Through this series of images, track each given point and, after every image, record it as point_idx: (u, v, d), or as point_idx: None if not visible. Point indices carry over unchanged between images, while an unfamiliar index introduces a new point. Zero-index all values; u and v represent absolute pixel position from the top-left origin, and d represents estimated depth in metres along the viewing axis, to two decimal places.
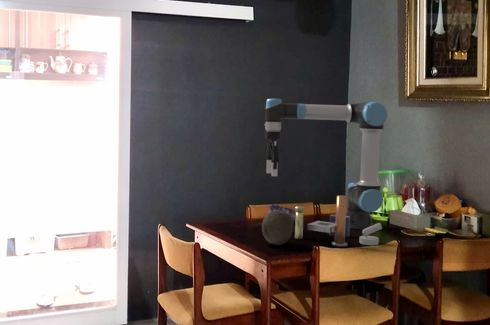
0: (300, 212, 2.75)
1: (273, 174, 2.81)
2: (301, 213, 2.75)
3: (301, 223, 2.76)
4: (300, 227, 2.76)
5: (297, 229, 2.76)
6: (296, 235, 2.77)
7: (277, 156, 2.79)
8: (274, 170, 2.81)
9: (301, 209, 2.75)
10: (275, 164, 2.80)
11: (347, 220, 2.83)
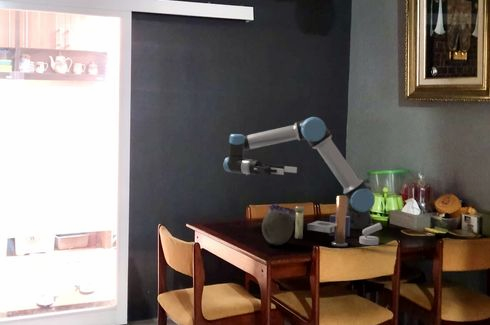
0: (300, 212, 2.75)
1: (281, 172, 2.79)
2: (301, 213, 2.75)
3: (301, 223, 2.76)
4: (300, 227, 2.76)
5: (297, 229, 2.76)
6: (296, 235, 2.77)
7: (263, 168, 2.81)
8: (277, 171, 2.80)
9: (301, 209, 2.75)
10: None
11: (347, 220, 2.83)
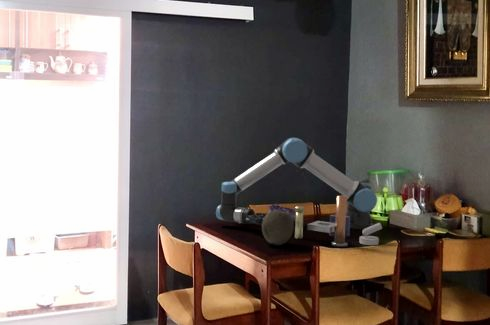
0: (300, 212, 2.75)
1: None
2: (301, 213, 2.75)
3: (301, 223, 2.76)
4: (300, 227, 2.76)
5: (297, 229, 2.76)
6: (296, 235, 2.77)
7: (255, 219, 2.79)
8: None
9: (301, 209, 2.75)
10: None
11: (347, 220, 2.83)
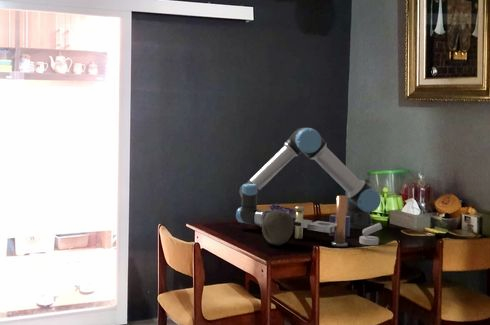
0: (300, 212, 2.75)
1: (305, 226, 2.73)
2: (301, 213, 2.75)
3: None
4: (300, 227, 2.76)
5: (297, 229, 2.76)
6: (296, 235, 2.77)
7: None
8: (302, 224, 2.74)
9: (301, 209, 2.75)
10: None
11: (347, 220, 2.83)
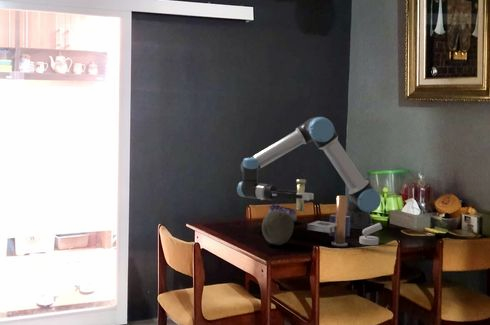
0: (301, 185, 2.74)
1: (307, 198, 2.72)
2: (302, 186, 2.74)
3: None
4: (301, 200, 2.75)
5: (298, 202, 2.75)
6: (297, 208, 2.75)
7: (287, 194, 2.73)
8: (303, 197, 2.73)
9: (302, 181, 2.73)
10: (296, 196, 2.73)
11: (347, 220, 2.83)
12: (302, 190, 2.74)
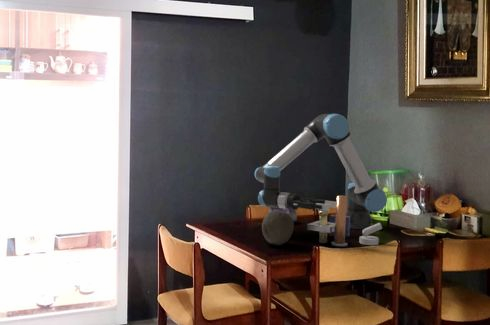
0: (324, 216, 2.66)
1: (327, 208, 2.62)
2: (325, 217, 2.66)
3: None
4: None
5: (321, 233, 2.68)
6: (320, 240, 2.68)
7: (306, 204, 2.64)
8: (323, 207, 2.63)
9: (325, 213, 2.66)
10: None
11: (347, 220, 2.83)
12: (325, 222, 2.67)
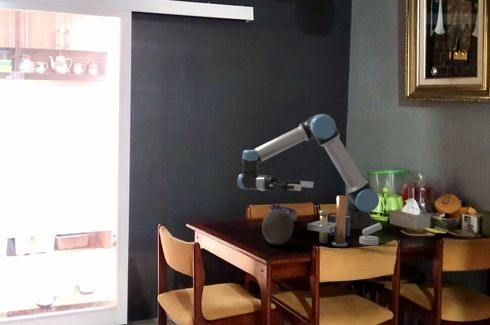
0: (324, 216, 2.67)
1: (298, 189, 2.72)
2: (325, 217, 2.67)
3: None
4: None
5: (321, 233, 2.68)
6: (321, 240, 2.68)
7: (279, 185, 2.75)
8: (295, 187, 2.73)
9: (325, 213, 2.66)
10: None
11: (347, 220, 2.83)
12: (325, 221, 2.67)
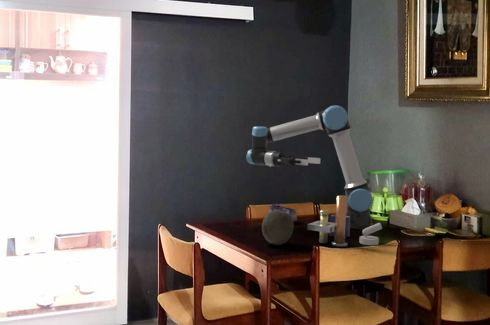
0: (325, 216, 2.67)
1: (305, 163, 2.80)
2: (326, 217, 2.67)
3: None
4: None
5: (321, 233, 2.68)
6: (321, 240, 2.68)
7: (287, 159, 2.83)
8: (302, 162, 2.81)
9: (326, 213, 2.66)
10: (295, 161, 2.82)
11: (347, 220, 2.83)
12: (326, 221, 2.67)
